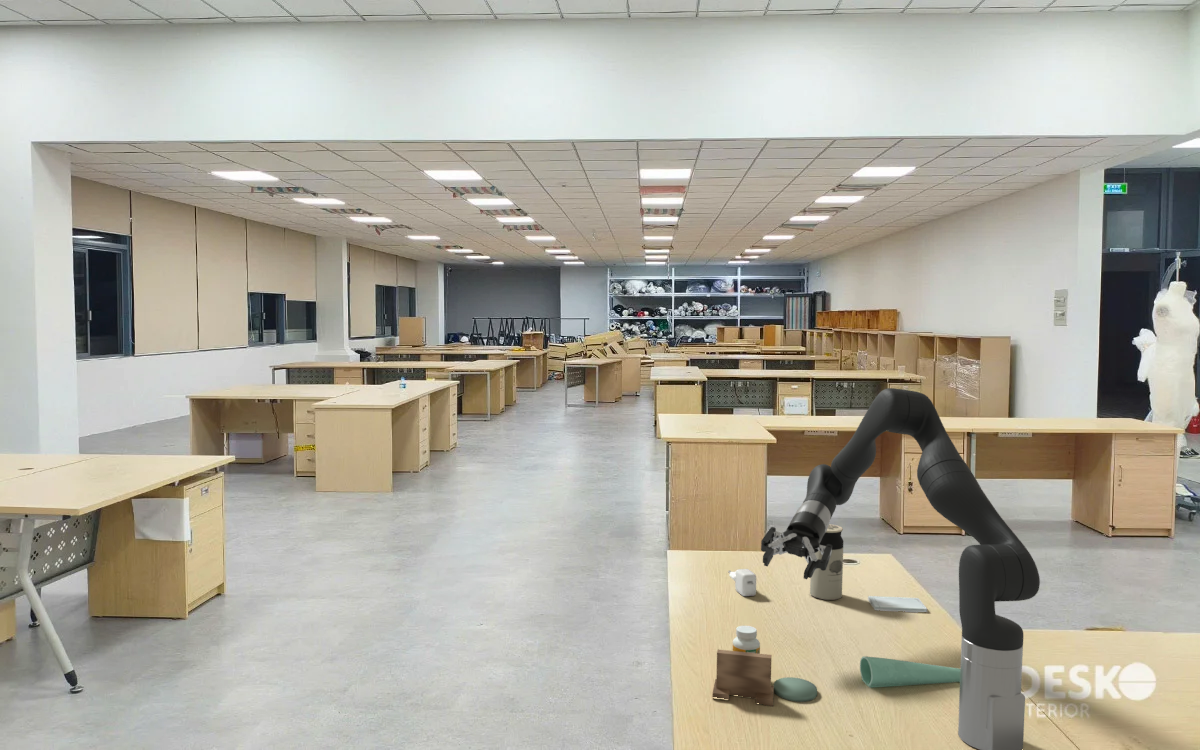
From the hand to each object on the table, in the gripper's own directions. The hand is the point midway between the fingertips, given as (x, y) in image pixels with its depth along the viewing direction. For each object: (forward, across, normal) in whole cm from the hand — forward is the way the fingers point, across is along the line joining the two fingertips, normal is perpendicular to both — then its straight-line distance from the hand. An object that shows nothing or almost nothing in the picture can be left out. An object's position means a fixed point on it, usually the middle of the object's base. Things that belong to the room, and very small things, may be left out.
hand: (785, 569), depth 166 cm
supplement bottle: (+19, -1, +13) cm, 23 cm away
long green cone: (+3, +31, +15) cm, 34 cm away
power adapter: (-25, -18, +36) cm, 47 cm away
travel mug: (-33, +2, +35) cm, 48 cm away
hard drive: (-35, +19, +34) cm, 52 cm away
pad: (+20, +9, +10) cm, 25 cm away
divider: (+27, +1, +9) cm, 28 cm away
